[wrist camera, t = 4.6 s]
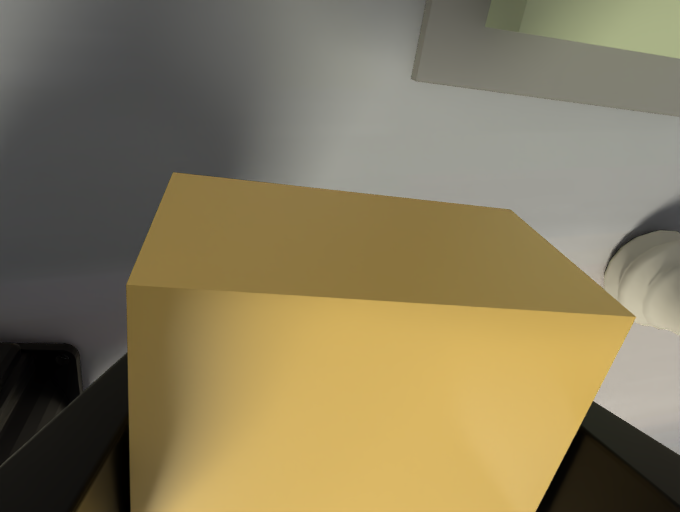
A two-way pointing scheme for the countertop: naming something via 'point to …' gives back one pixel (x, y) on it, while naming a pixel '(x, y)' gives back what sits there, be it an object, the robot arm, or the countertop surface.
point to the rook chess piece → (648, 279)
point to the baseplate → (557, 50)
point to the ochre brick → (354, 353)
